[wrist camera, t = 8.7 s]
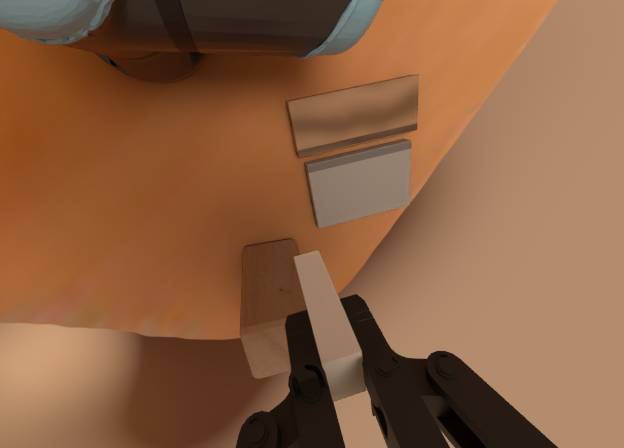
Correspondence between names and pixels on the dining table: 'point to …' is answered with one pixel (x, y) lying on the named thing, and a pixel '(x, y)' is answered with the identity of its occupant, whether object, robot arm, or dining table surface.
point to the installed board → (354, 115)
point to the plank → (360, 182)
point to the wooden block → (269, 304)
